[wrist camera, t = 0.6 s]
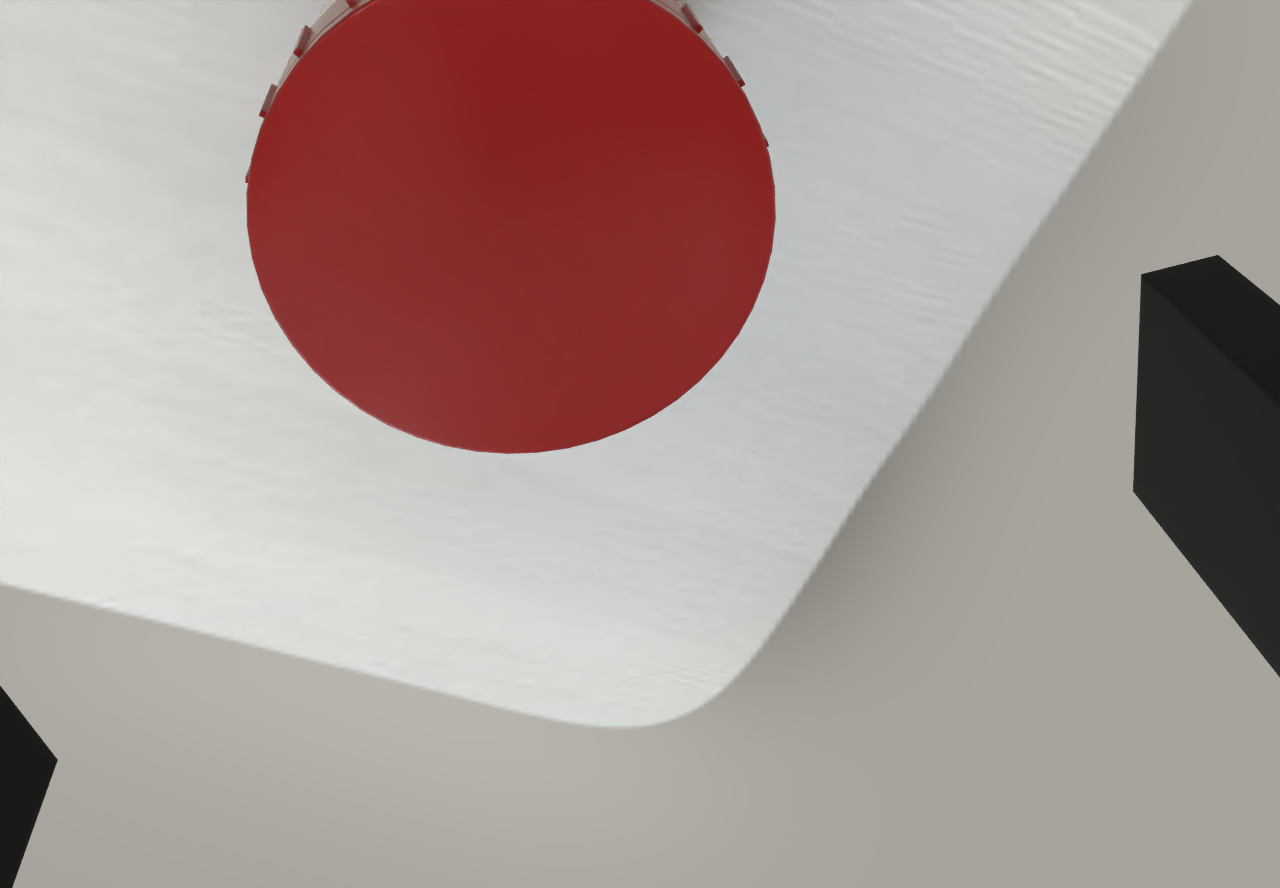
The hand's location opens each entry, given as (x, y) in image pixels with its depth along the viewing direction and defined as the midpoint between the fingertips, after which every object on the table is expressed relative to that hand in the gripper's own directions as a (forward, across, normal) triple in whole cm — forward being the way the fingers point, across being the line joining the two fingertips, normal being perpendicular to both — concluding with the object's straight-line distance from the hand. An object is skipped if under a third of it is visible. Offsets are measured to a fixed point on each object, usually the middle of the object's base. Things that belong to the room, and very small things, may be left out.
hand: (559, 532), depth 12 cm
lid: (+8, 0, 0) cm, 8 cm away
